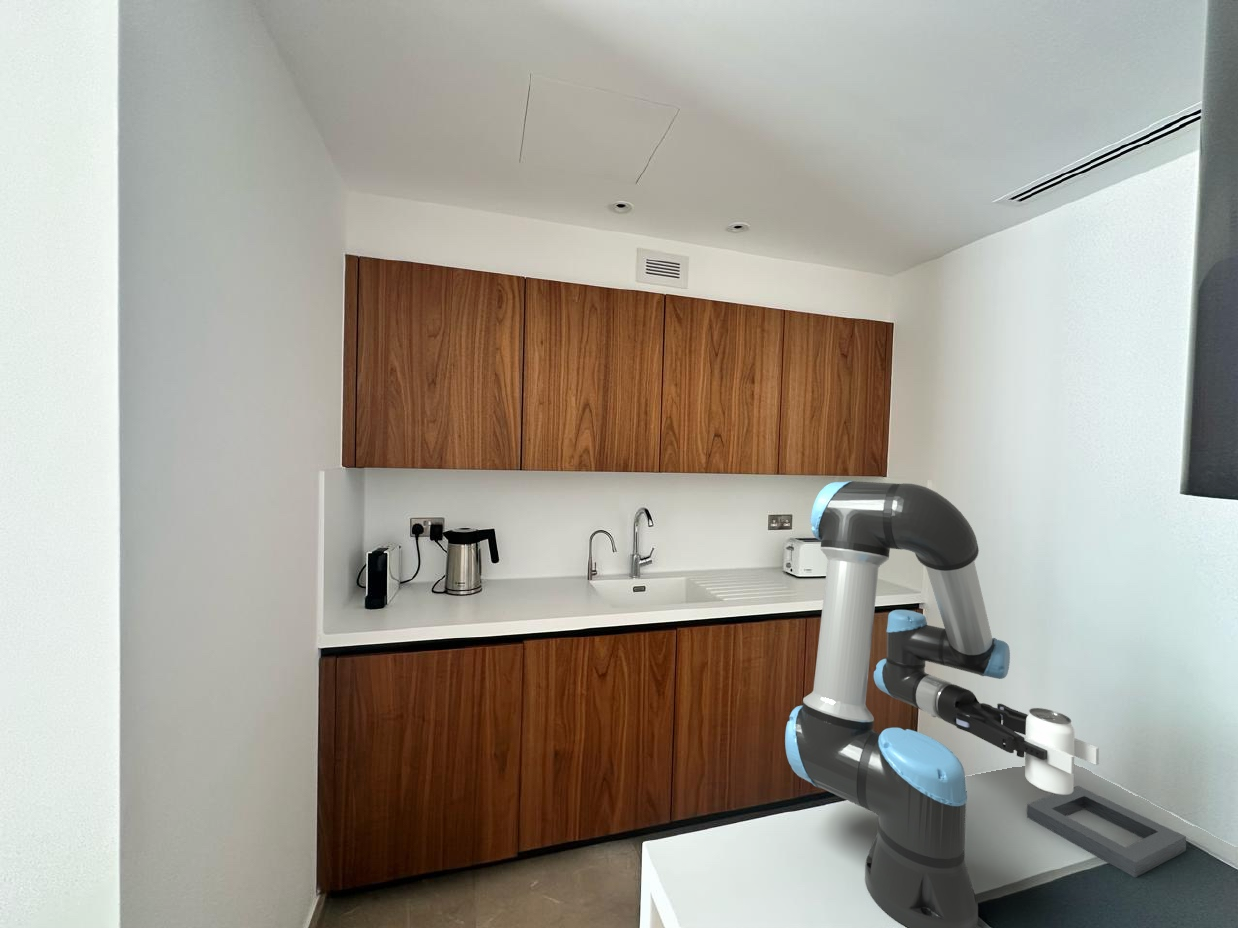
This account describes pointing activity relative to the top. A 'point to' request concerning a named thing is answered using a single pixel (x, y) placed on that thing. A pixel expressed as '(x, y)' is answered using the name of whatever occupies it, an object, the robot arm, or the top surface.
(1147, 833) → the jig
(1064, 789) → the can
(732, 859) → the top surface
